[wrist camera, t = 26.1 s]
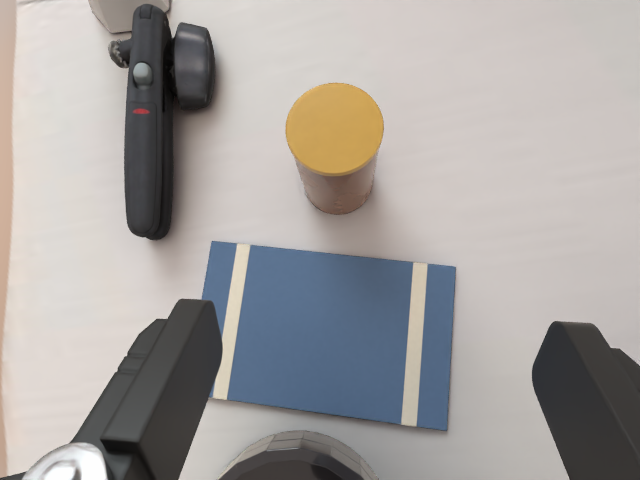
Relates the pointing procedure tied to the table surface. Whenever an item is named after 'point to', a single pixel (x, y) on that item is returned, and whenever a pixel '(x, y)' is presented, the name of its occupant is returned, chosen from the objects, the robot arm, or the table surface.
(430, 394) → the tea towel
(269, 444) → the pan
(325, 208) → the chocolate tin
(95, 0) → the flask
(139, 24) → the can opener
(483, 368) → the table surface
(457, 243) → the table surface
